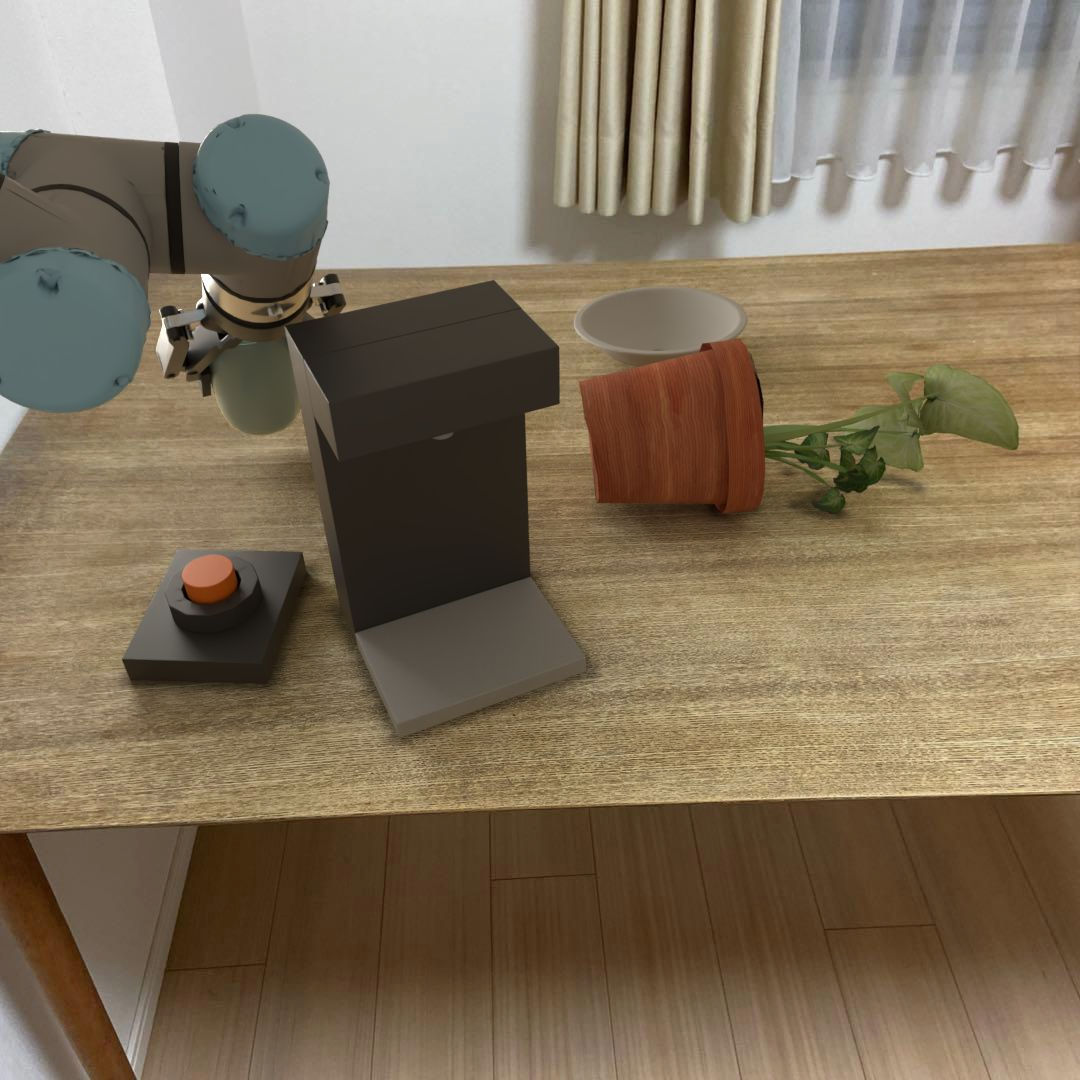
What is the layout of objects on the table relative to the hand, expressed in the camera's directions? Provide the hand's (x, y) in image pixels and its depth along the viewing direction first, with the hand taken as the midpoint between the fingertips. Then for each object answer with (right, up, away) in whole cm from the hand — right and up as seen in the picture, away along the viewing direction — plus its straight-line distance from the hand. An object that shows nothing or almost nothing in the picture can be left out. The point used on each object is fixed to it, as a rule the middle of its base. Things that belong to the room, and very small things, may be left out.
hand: (250, 371), depth 93 cm
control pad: (+3, -22, -16) cm, 27 cm away
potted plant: (+47, -11, -4) cm, 49 cm away
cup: (+2, -5, 0) cm, 5 cm away
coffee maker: (+20, -23, -18) cm, 35 cm away
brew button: (+2, -19, -18) cm, 26 cm away
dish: (+39, +3, +13) cm, 41 cm away
